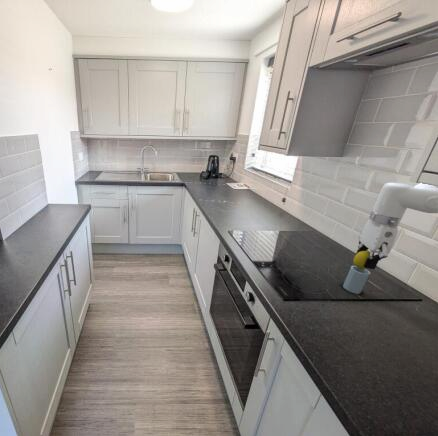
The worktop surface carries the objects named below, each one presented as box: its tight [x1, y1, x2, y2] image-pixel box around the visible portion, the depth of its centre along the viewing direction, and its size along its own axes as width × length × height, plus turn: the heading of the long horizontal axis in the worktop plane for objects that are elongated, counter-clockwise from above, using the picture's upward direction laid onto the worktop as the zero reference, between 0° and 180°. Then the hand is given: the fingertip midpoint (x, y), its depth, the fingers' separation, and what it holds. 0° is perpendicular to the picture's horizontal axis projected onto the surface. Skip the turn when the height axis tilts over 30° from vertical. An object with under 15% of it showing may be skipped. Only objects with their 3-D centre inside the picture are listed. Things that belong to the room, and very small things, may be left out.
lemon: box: [353, 250, 370, 270], centre depth 86 cm, size 6×6×8 cm
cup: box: [342, 265, 371, 295], centre depth 89 cm, size 6×6×9 cm
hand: (364, 263), depth 86 cm, fingers closed on lemon, 5 cm apart
